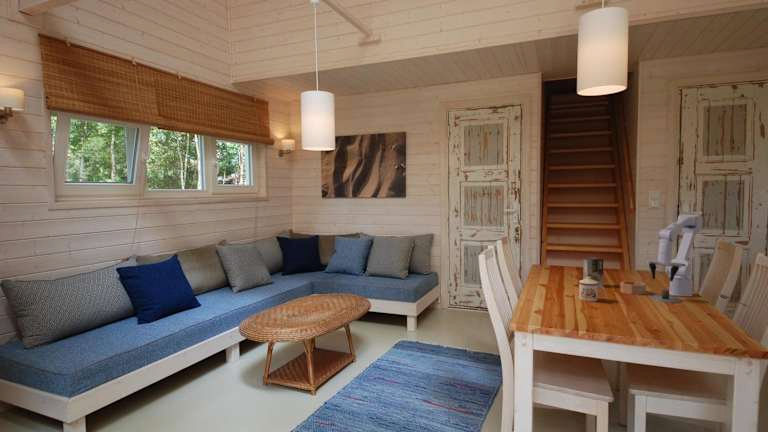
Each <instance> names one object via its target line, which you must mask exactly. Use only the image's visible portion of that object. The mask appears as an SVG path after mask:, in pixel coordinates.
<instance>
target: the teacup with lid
mask: <svg viewBox="0 0 768 432" xmlns="http://www.w3.org/2000/svg"><path fill="white" fill-rule="evenodd" d="M598 284H599V283H598V282H597V281H594V280H593V279H591V277H587V278H586V279H583V278H582V279H581V280H579V281H578V285H579V287H578V298H579V300H581V301H585V302H597V301H598V300H599V297H601V296H604V294H605V292H606V289H605V287H604V286H603V287H602V286H598ZM600 288H601V289H603V291H602V292H601V293H599V289H600Z"/></svg>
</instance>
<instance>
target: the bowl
mask: <svg viewBox="0 0 768 432" xmlns="http://www.w3.org/2000/svg"><path fill="white" fill-rule="evenodd" d="M619 290H620V292H621V293H623V294H627V295H631V296H634V295H635V296H643V295H646V294H647V293H646V292H647V284H646V283H644V282H641V281H635V280H623V281H620V289H619Z"/></svg>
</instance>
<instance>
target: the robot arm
mask: <svg viewBox="0 0 768 432" xmlns="http://www.w3.org/2000/svg"><path fill="white" fill-rule="evenodd" d="M703 221H704V220H703V216H702V215H701V214H689V213H688V214H686V213H685V214H684V213H680V214H679V215H678V217H677V221H676V222H671V223H670V224H669V225H668V226H667V227H665V228H664V229H660V230H659V231H658V233H657V240H658V244H659V245H658V254H657V260H654V259H653V260H652V259H647V261H646V263H647V265H648V266H649V268H650V272H651V276H652V277H651V278H652V279H653V280H655V279H656V271H657V266H665V273H666V275H667V276H668V278H669V290H668V291H669V296H671V297H693V281H692V278H690V276H691V275H692V265H691V264H690V262H688V259H689V257H690V254H691V251H692V247H693V245H694V241H695V238H696V235H697V234H698V233H699V232H701V229H702V227H703V223H704V222H703ZM681 232H683V233H684V234H683V236H682V239H681V242H680V246H679V248H678V252H677V254H676V256H675V258H674V259H672V256H673V255H672V253H673V247H674V246H673V245H674V242H675V241H676V239H677V237H678V235H679V234H680V233H681Z"/></svg>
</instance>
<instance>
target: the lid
mask: <svg viewBox="0 0 768 432" xmlns="http://www.w3.org/2000/svg"><path fill="white" fill-rule="evenodd" d="M650 300H653V301H655V302H660V303H669V304H675V303H676V304H678V303H679V304H680V303H681V302H682V300H681V299H680V298H678V297H676V296H671V295H670V294H669V290H667V289H662V290H661V295H657V294H656V295H651V296H650Z"/></svg>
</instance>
